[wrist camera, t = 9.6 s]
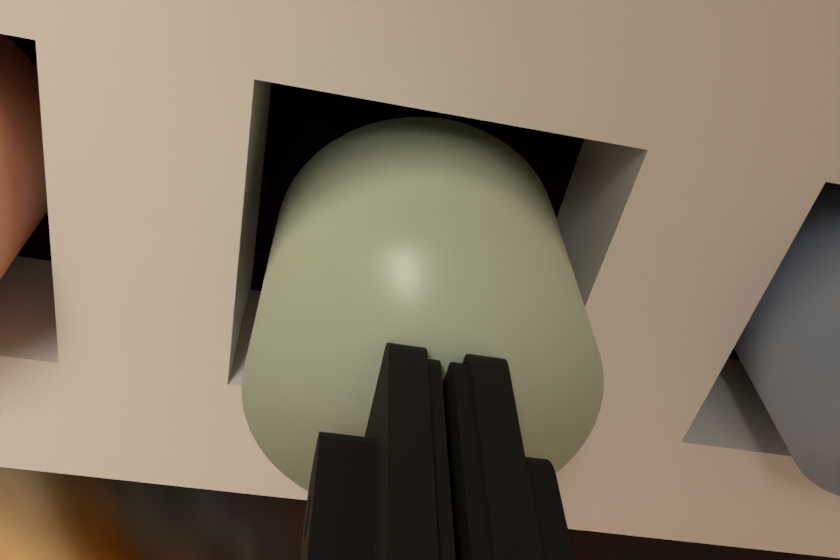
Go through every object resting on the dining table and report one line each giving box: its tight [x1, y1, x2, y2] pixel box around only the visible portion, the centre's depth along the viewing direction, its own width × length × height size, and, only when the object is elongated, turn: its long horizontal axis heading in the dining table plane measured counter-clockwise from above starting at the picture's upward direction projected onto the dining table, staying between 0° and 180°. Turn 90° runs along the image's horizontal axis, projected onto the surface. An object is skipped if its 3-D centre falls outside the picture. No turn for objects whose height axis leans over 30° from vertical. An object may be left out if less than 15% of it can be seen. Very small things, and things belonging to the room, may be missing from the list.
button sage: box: [242, 117, 604, 491], centre depth 13 cm, size 5×5×4 cm
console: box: [0, 0, 840, 558], centre depth 15 cm, size 12×30×3 cm, turn 79°
